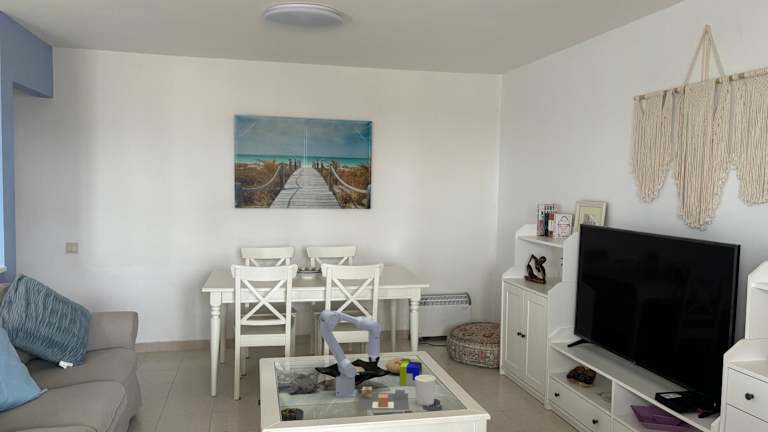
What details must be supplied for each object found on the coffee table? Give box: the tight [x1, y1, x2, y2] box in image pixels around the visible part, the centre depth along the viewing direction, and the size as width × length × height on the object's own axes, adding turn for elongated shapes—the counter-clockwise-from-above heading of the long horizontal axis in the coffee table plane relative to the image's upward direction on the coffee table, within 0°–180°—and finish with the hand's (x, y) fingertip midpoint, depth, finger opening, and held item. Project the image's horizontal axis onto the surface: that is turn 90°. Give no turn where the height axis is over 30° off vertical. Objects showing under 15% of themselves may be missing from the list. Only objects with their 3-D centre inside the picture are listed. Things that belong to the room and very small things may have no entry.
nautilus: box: [384, 356, 417, 375], centre depth 323 cm, size 8×22×15 cm
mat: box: [356, 392, 410, 411], centre depth 277 cm, size 24×22×1 cm
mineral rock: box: [290, 372, 320, 395], centre depth 290 cm, size 13×11×10 cm
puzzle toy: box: [399, 361, 423, 387], centre depth 305 cm, size 10×10×10 cm
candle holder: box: [415, 374, 437, 406], centre depth 276 cm, size 10×10×12 cm
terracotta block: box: [378, 394, 388, 407], centre depth 271 cm, size 4×4×4 cm
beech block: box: [361, 386, 373, 399], centre depth 282 cm, size 4×4×4 cm
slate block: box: [394, 386, 406, 399], centre depth 282 cm, size 4×4×4 cm
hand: (374, 371), depth 294 cm, fingers closed
